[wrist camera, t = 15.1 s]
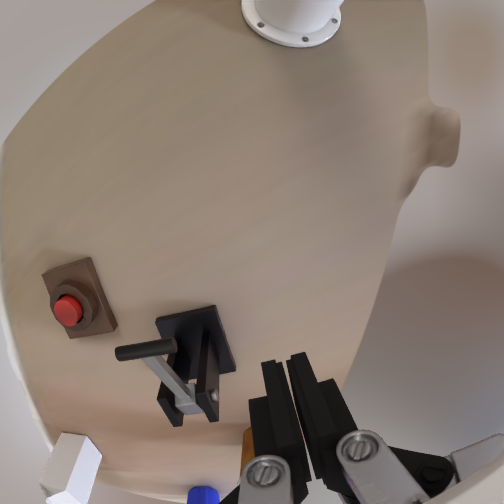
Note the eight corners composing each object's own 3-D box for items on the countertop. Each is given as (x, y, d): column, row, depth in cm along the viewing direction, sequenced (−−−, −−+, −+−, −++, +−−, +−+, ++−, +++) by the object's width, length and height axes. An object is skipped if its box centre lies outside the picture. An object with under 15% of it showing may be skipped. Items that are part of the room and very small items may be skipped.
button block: (47, 270, 33) (34, 279, 29) (90, 256, 33) (78, 265, 30) (74, 333, 36) (64, 345, 32) (117, 325, 36) (109, 338, 32)
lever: (116, 338, 21) (113, 362, 19) (171, 327, 21) (171, 353, 19) (172, 397, 28) (173, 416, 27) (215, 390, 29) (217, 410, 27)
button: (56, 297, 31) (49, 302, 29) (76, 292, 31) (69, 297, 29) (67, 322, 32) (61, 328, 30) (87, 318, 32) (81, 324, 30)
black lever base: (156, 317, 36) (130, 379, 24) (215, 304, 36) (211, 367, 24) (182, 375, 39) (171, 443, 26) (235, 365, 39) (240, 434, 26)
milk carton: (87, 434, 42) (59, 506, 23) (102, 455, 44) (82, 523, 25) (61, 431, 41) (32, 496, 23) (77, 451, 43) (54, 514, 25)
